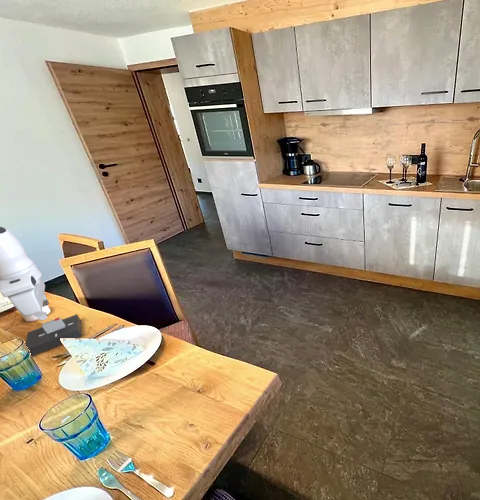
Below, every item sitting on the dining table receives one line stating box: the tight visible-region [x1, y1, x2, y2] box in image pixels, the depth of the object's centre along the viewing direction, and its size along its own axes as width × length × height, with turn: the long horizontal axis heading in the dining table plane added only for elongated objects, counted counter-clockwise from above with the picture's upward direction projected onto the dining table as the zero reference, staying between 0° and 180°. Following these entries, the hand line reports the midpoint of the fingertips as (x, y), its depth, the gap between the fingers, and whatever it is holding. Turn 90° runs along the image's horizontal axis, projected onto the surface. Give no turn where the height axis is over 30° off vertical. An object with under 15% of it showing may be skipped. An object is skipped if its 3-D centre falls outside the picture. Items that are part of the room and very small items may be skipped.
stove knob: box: [41, 317, 65, 334], centre depth 97 cm, size 5×2×4 cm, turn 131°
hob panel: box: [25, 314, 83, 357], centre depth 98 cm, size 13×11×3 cm
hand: (45, 311), depth 95 cm, fingers open, 8 cm apart
